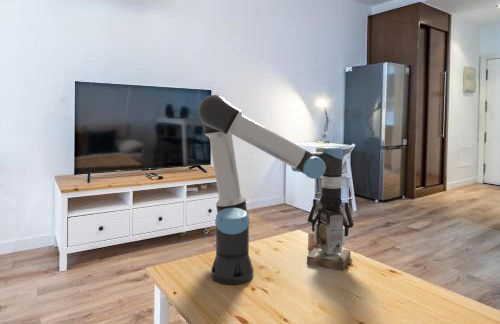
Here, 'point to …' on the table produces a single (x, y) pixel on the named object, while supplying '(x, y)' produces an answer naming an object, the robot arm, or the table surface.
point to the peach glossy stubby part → (311, 240)
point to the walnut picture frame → (328, 258)
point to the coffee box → (330, 231)
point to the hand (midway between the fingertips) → (329, 241)
